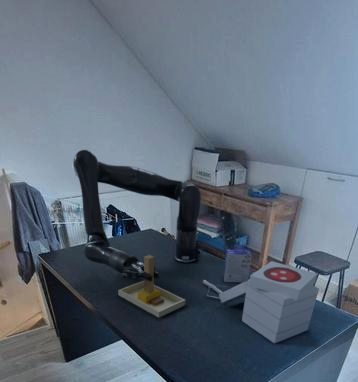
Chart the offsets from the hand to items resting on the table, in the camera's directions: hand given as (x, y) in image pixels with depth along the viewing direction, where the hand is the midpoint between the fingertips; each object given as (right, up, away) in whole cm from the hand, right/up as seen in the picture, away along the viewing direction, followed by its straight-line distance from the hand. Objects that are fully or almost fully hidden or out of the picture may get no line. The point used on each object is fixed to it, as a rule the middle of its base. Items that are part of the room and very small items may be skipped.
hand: (154, 277), depth 114 cm
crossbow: (+22, -4, +15) cm, 27 cm away
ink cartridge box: (+32, +2, +25) cm, 40 cm away
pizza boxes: (+36, -14, 0) cm, 39 cm away
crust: (0, -8, +5) cm, 10 cm away
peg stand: (-3, -7, +7) cm, 10 cm away
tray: (-2, -8, +7) cm, 11 cm away
